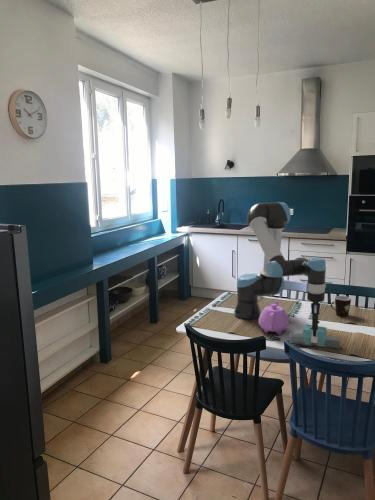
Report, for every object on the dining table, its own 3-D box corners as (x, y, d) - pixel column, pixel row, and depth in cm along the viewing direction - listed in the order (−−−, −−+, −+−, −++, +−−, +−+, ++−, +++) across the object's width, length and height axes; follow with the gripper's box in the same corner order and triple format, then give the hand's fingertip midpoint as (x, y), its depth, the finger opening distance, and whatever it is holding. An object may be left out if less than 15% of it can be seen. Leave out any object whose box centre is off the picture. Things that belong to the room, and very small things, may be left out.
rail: (289, 343, 183) (289, 335, 182) (290, 340, 187) (290, 332, 186) (339, 349, 176) (339, 340, 175) (338, 345, 180) (339, 337, 179)
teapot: (262, 320, 214) (262, 296, 211) (291, 323, 208) (292, 299, 206) (255, 335, 193) (255, 309, 191) (287, 339, 188) (287, 312, 185)
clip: (303, 345, 180) (303, 329, 179) (303, 340, 185) (304, 325, 184) (325, 347, 177) (326, 332, 175) (325, 342, 182) (326, 327, 181)
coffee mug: (347, 312, 223) (348, 295, 221) (352, 317, 214) (353, 300, 212) (326, 312, 224) (327, 295, 222) (330, 317, 215) (331, 300, 214)
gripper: (324, 298, 167) (323, 348, 171) (324, 286, 184) (322, 332, 188) (306, 297, 169) (305, 346, 173) (308, 285, 187) (306, 331, 191)
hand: (314, 339), depth 181 cm, fingers open, 6 cm apart
